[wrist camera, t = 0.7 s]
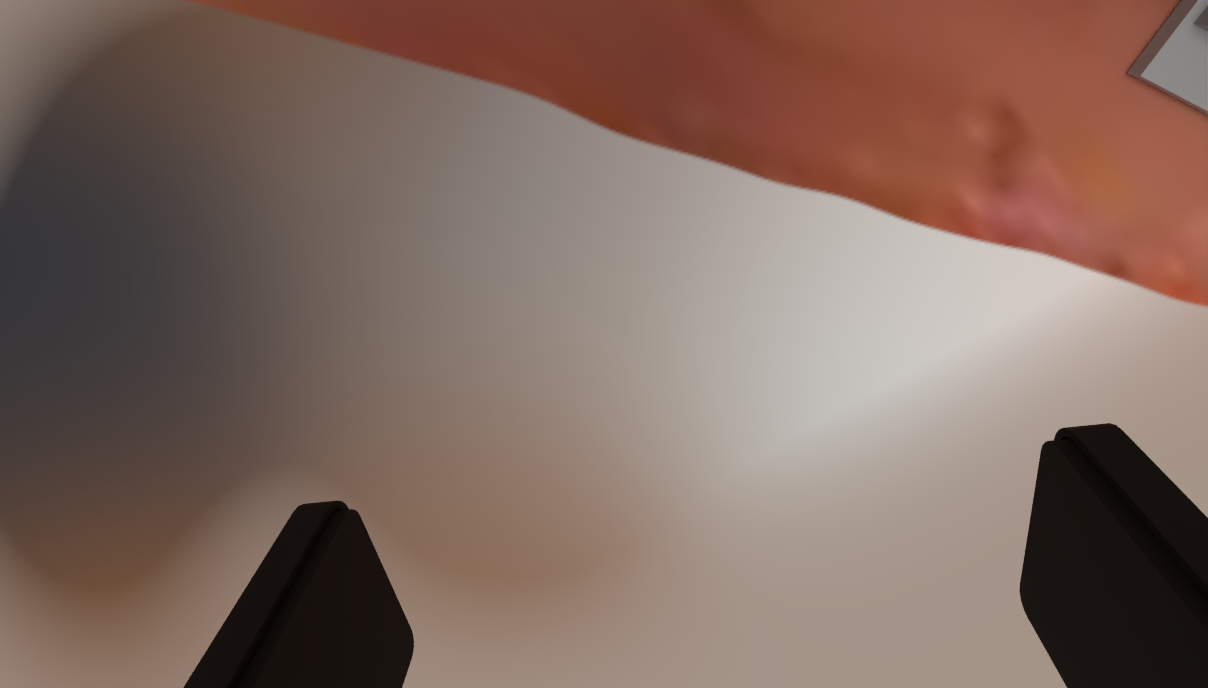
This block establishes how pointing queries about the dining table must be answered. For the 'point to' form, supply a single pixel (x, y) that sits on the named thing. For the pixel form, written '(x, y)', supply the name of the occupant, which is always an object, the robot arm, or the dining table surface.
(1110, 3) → the dining table surface
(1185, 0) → the cradle
